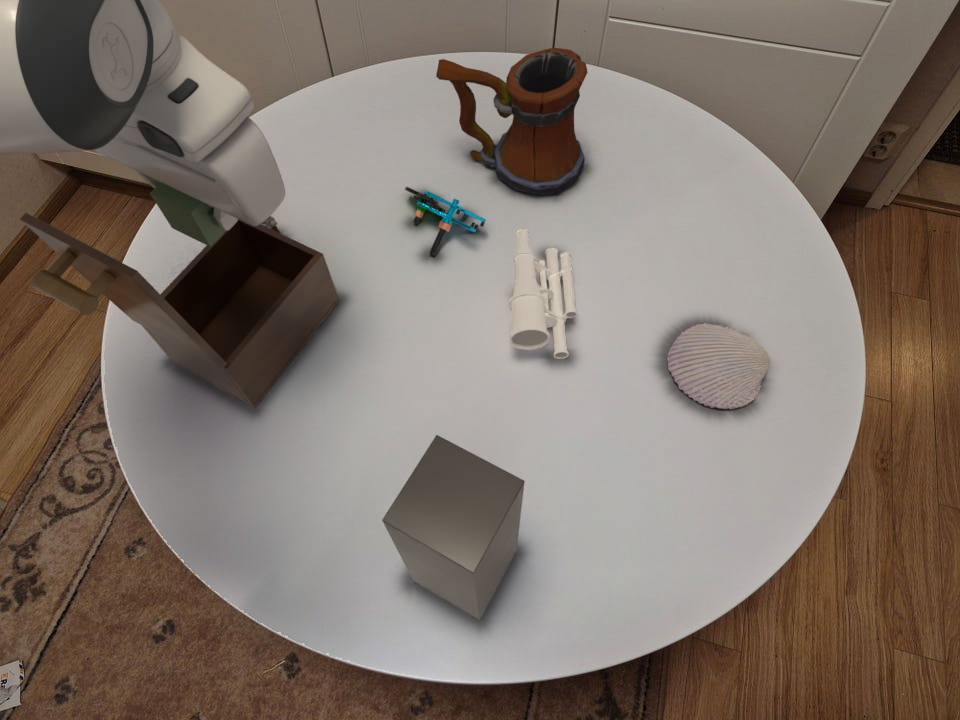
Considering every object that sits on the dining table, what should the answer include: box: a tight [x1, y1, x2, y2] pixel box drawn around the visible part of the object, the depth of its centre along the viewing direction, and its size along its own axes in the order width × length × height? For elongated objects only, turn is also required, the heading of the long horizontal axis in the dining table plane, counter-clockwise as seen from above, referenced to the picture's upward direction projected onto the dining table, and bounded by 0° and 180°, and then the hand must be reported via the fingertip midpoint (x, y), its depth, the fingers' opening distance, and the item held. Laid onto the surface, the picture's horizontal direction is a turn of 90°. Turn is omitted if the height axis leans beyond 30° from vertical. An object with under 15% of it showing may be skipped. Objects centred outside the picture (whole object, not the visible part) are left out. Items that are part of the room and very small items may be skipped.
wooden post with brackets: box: [261, 215, 282, 234], centre depth 81 cm, size 2×8×4 cm, turn 46°
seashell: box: [666, 322, 772, 410], centre depth 71 cm, size 10×6×10 cm
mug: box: [435, 47, 589, 195], centre depth 81 cm, size 18×12×15 cm, turn 83°
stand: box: [381, 434, 526, 621], centre depth 54 cm, size 7×7×20 cm
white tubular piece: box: [508, 228, 578, 360], centre depth 74 cm, size 8×14×5 cm
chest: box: [142, 219, 341, 409], centre depth 72 cm, size 15×11×9 cm
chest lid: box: [19, 212, 227, 369], centre depth 57 cm, size 16×11×4 cm
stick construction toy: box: [404, 186, 487, 257], centre depth 81 cm, size 12×7×8 cm
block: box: [149, 183, 226, 247], centre depth 59 cm, size 4×4×4 cm
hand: (201, 210), depth 60 cm, fingers closed on block, 4 cm apart
